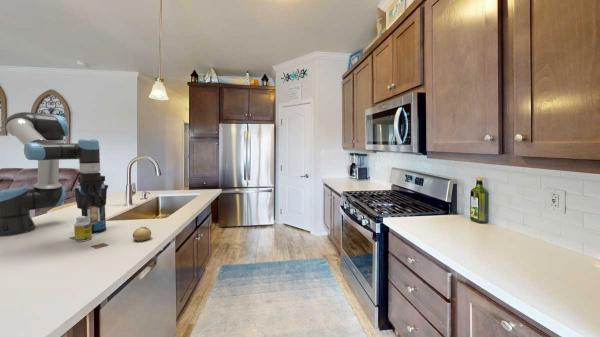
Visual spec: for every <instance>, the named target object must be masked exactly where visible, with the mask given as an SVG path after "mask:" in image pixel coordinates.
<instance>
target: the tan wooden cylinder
mask: <svg viewBox="0 0 600 337" xmlns="http://www.w3.org/2000/svg"><path fill="white" fill-rule="evenodd" d="M88 209H90V223H89V225H94V224H97V219H98V216H97V206H92V207H88Z"/></svg>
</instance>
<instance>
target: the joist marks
mask: <svg viewBox="0 0 600 337" xmlns="http://www.w3.org/2000/svg"><path fill="white" fill-rule="evenodd" d="M69 239H70V240H71V239H72V240H73V241H75V235H74V236H70V237H69ZM107 246H109V244H108V243H105V242H100V243H97V244H93V245H90V247H91V248H93V249H95V250H97V249H100V248H103V247H107Z"/></svg>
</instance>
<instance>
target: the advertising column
mask: <svg viewBox="0 0 600 337" xmlns="http://www.w3.org/2000/svg"><path fill="white" fill-rule="evenodd" d="M77 178H78V180H77V181H78V183H79V184H80V176H78V177H77ZM101 182H102V184H104V185H105V182H106V176H105V175H101ZM101 189H102V188H101V187H100V188H99V196H100V200H101ZM80 193H81V199H82V205H83V198H84V190H82V189H81V191H80ZM92 206H96V202H95V198H94V194H93V192H90V195H89V202H88V207H92ZM101 209H102V213H101V214H100V221H97V224H94V225H91V228H92V235H94V234H101V233H103V232H106V230H107V224H106V223H107V221H106V219H107V218H106V205H104V206H103V207H101ZM80 210H81V216H83V210H82V209H80Z"/></svg>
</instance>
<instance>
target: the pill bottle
mask: <svg viewBox="0 0 600 337" xmlns="http://www.w3.org/2000/svg"><path fill="white" fill-rule="evenodd" d="M75 219H76V222H74V224H73V226H74V228H73V230H74V236H75V240H74V241H75V242H77V243H78V242H79V243H83V242H86V241H91V240H92V237H93V236H92V235H93V234H92V228H91V225H89V223H86V216H82V215H80V216H76V218H75Z"/></svg>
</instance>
